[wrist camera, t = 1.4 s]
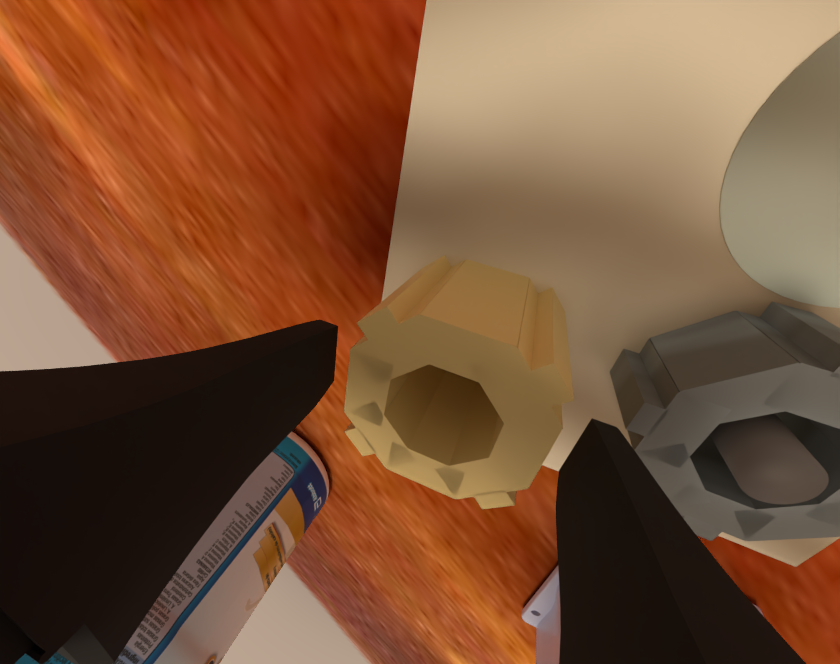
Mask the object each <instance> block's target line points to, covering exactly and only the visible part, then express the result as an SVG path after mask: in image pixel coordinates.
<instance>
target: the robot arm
mask: <svg viewBox="0 0 840 664" xmlns="http://www.w3.org/2000/svg"><path fill="white" fill-rule="evenodd" d="M337 334H338V326H336V325H333V324H331V323H328V322H325V321H322V320H315V321H311V322H306V323H302V324H299V325H295V326H291V327H287V328H284V329H280V330H277V331H273V332H269V333H266V334H262V335H258V336H255V337H251V338H247V339H243V340H239V341H235V342H230V343H226V344H222V345H218V346H214V347H209V348H205V349H201V350H196V351H191V352H185V353H180V354H174V355H168V356H162V357H156V358H150V359H143V360H135V361H126V362H118V363H109V364H101V365H91V366H83V367H82V366H81V367H70V368H56V369H42V370H23V371H1V372H0V664H15V663H16V662H17V661H18V660H19V659H20V658H21V657H22V656H23V655H24V654H27V655H28V656H29V657H31V658H32V659H34V660H35V661H36V662H38V663H39V664H43V663H45V662H47V661H48V660H49V659H50V658H51V657H52V656H53V655H54V654H55V653H56V652H58V653H59V654H61V655H62V656H63V657H65V658H66V659H68V660H69V661H71V662H72V663H74V664H113V663H115V661H116V660H117V658H118V657H119V655H120V654H121V652H122V651H123V649H124V647H125V646H126V644H127V643H128V641H129V640H130V638H131V637H132V635H133V634H134V633H135V631H136V630H137V628H138V627H139V625H140V624H141V622H142V621H143V619H144V618H145V616H146V615H147V613H148V612H149V610H150V609H151V607H152V606H153V604H154V603H155V601H156V600H157V599H158V597H159V596H160V594H161V593H162V591H163V590H164V588H165V587H166V586H167V584H168V583H169V581H170V580H171V579H172V577H173V576H174V574H175V573H176V572H177V570H178V569H179V567H180V566H181V565H182V563H183V562H184V561H185V559H186V558H187V556H188V555H189V554H190V552H191V551H192V549H193V548H194V547H195V545H196V544H197V543H198V541H199V540H200V539H201V537H202V536H203V535H204V533H205V532H206V531H207V529H208V528H209V527H210V525H211V524H212V523H213V521H214V520H215V519H216V518H217V516H218V515H219V514H220V512H221V511H222V510H223V508H224V507H225V506H226V505H227V503H228V502H229V501H230V500H231V498H232V497H233V496H234V495H235V493H236V492H237V491H238V490H239V488H240V487H241V486H242V484H243V483H244V482H245V481H246V479H247V478H248V477H249V476H250V475H251V474H252V473H253V472H254V470H255V469H256V468H257V467H258V466H259V465H260V464H261V463H262V462H263V461H264V460H265V459H266V457H267V456H268V455H269V454H270V453H271V452H272V451H273V450H274V449H275V448H276V447H277V446H278V445H279V444H280V443H281V442H282V441H283V440H284V439H285V438H286V437H287V436H288V435H289V434H290V433H291V432H292V431H293V429H294V428H295V427H296V426H297V425H298V424H299V423H300V422H301V421H302V420H303V419H304V418H305V417H306V416H307V415H308V414H309V413H310V412H311V410H312V409H313V408H314V407H315V406H316V405H317V403H318V402H319V401H320V399H321V398H322V397H323V395H324V394H325V393H326V391H327V390H328V388H329V387H330V385H331V384H332V383H333V381H334V372H335V360H336V347H337ZM556 527H557V549H558V566H557V567H556V568H555V570H554V571H553V572H552V573H551V575H550V576H549V577H548V578H547V580H546V581H545V582H544V583H543V585H542V586H541V587H540V588H539V590H538V591H537V592H536V593H535V595H534V596H533V597H532V598H531V600H530V601H529V602H528V603H527V605H526V606H525V607H524V608H523V610H522V619H523V620H524V621H525V622H526V623H528V624H530V625H532V626H534V627H536V628H537V633H536V664H806V663H805V662H804V661H803V660H802V659H801V658H800V657H799V655H798V654H797V653H796V652H795V651H794V650H793V649H792V648H791V647H790V646H789V645H788V643H787V642H786V641H785V640H784V639H783V638H782V637H781V636H780V635H779V633H778V632H777V631H776V630H775V629H774V628H773V627H772V625H771V624H770V623H769V622H768V621H767V620H766V619H765V617H764V615H763V613H762V611H761V609H760V608H759V607H758V606H756V605H754V604H752V603H751V601H750V600H749V599H748V598H747V597H746V596H745V595H744V593H743V592H742V591H741V590H740V589H739V588H738V586H737V585H736V584H735V583H734V582H733V580H732V579H731V578H730V577H729V576H728V574H727V573H726V572H725V571H724V570H723V568H722V567H721V566H720V565H719V563H718V562H717V561H716V560H715V558H714V557H713V556H712V555H711V553H710V552H709V551H708V549H707V548H706V547H705V546H704V544H703V543H702V542H701V541H700V539H699V538H698V537H697V536H696V534H695V533H694V532H693V530H692V529H691V528H690V526H689V525H688V524H687V523H686V521H685V520H684V519H683V517H682V516H681V515H680V513H679V512H678V511H677V509H676V508H675V506H674V505H673V504H672V502H671V501H670V500H669V498H668V497H667V496H666V494H665V493H664V491H663V490H662V489H661V487H660V486H659V484H658V483H657V482H656V480H655V479H654V477H653V476H652V475H651V473H650V472H649V470H648V469H647V467H646V466H645V465H644V463H643V462H642V460H641V459H640V457H639V456H638V455H637V453H636V452H635V450H634V449H633V448H632V446H631V445H630V443H629V442H628V441H627V439H626V438H625V437H624V435H623V434H622V433H621V431H620V430H619V429H618V428H617V427H615V426H612V425H610V424H607V423H604V422H601V421H598V420H596V419H593V418H592V419H591V420H590V422H589V423H588V425H587V427H586V428H585V430H584V431H583V433H582V435H581V436H580V438H579V439H578V441H577V443H576V444H575V446H574V447H573V449H572V451H571V452H570V454H569V455H568V457H567V459H566V460H565V462H564V463H563V465H562V467H561V468H560V470H559V477H558V487H557V499H556Z"/></svg>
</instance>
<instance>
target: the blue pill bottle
mask: <svg viewBox="0 0 840 664" xmlns="http://www.w3.org/2000/svg"><path fill="white" fill-rule="evenodd" d="M328 494H329V479H328V475H327V472H326V470H325V467H324V465H323V463H322V462H321V460H320V458H319V457H318V455H317V454H316V453H315V452H314V450H313V449H312V448H311V447H310V446H309V445H308V444H307V443H306V442H305V441H304V440H303V439H302V438H300V437H299V436H298V435H296V434H295V433H294V432H291V433H290V434H289V435H288V436H287V437H286V438H285V439H284V440H283V441H282V442H281V443H280V444H279V445H278V446H277V447H276V448H275V449H274V450H273V451H272V452H271V453H270V454H269V455H268V456H267V457H266V459H265V460H264V461H263V462H262V463H261V464H260V465H259V466H258V467H257V468H256V469H255V470H254V472H253V473H252V474H251V475H250V476H249V477H248V478H247V479H246V481H245V482H244V483H243V484H242V486H241V487H240V488H239V490H238V491H237V492H236V493H235V495H234V496H233V497H232V498H231V500H230V501H229V502H228V503H227V505H226V506H225V507H224V508H223V510H222V511H221V512H220V514H219V515H218V516H217V518H216V519H215V520H214V521H213V523H212V524H211V525H210V527H209V528H208V529H207V531H206V532H205V533H204V535H203V536H202V537H201V539H200V540H199V541H198V543H197V544H196V545H195V547H194V548H193V549H192V551H191V552H190V554H189V555H188V556H187V558H186V559H185V561H184V562H183V563H182V565H181V566H180V567H179V569H178V570H177V572H176V573H175V574H174V576H173V577H172V579H171V580H170V581H169V583H168V584H167V586H166V587H165V588H164V590H163V591H162V593H161V594H160V596H159V597H158V599H157V600H156V601H155V603H154V604H153V606H152V607H151V609H150V610H149V612H148V613H147V615H146V616H145V618H144V619H143V621H142V622H141V624H140V625H139V627H138V628H137V630H136V631H135V633H134V634H133V635H132V637H131V638H130V640H129V641H128V643H127V644H126V646H125V647H124V649H123V651H122V652H121V654H120V655H119V657H118V658H117V660H116V661H115V663H113V664H219V663H220V662H221V660H222V659H223V657H224V656H225V654H226V653H227V651H228V649H229V648H230V646H231V645H232V643H233V642H234V640H235V639H236V637H237V636H238V634H239V633H240V631H241V629H242V628H243V626H244V625H245V623H246V621H247V620H248V619H249V617H250V616H251V614H252V612H253V611H254V609H255V608H256V606H257V605H258V603H259V601H260V600H261V599H262V597H263V596H264V594H265V592H266V591H267V589H268V588H269V586H270V585H271V583H272V582H273V580H274V579H275V577H276V576H277V574H278V573H279V571H280V569H281V568H282V566H283V565H284V563H285V562H286V560H287V559H288V557H289V556H290V554H291V553H292V551H293V550H294V548H295V547H296V545H297V543H298V542H299V540H300V539H301V537H302V536H303V534H304V533H305V531H306V530H307V528H308V527H309V525H310V524H311V522H312V520H313V519H314V518H315V517H316V516H317V514H318V513H319V511H320V510H321V508H322V507H323V505H324V504H325V502H326V500H327V497H328ZM15 664H39V663H38V662H36V661H35V660H34V659H32V658H31V657H29V656H28V655H27V654H24V655H23V656H22V657H21V658H20V659H19V660H18V661H17V662H16V663H15ZM43 664H74V663H72V662H71V661H69V660H68V659H66V658H65V657H63V656H62V655H61V654H59V653H58V652H56V653H55V654H54V655H53V656H52V657H51V658H50V659H49V660H48V661H47V662H45V663H43Z"/></svg>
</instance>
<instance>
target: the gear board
mask: <svg viewBox="0 0 840 664" xmlns="http://www.w3.org/2000/svg"><path fill="white" fill-rule="evenodd" d="M444 255H445V257H446V258H447V260H448V262H449V264H450V265H451V267H453V266H455V265H456V264H458V263H460V262H462V261H464V260H467V259H468V260H471V261H475V262H478V263H482V264H485V265H488V266H492V267H495V268H498V269H502V270H505V271H509V272H512V273H515V274H519V275H522V276H525V277H529V279H531V281H532V283H533V285H534V287H535V289H536V291H537V293H540V292H542V291H545V290H547V289H549V288H552V287H553V289H554V291H555V293H556V295H557V297H558V299H559V301H560V303H561V305H562V307H563V309H564V311H565V315H566V325H567V335H568V345H569V355H570V365H571V375H572V385H573V395H574V401H572V402H568V403H564V404H562V422H563V429H562V431H561V433H560V434H559V436H558V438H557V440H556V441H555V443H554V445H553V447H552V448H551V450H550V452H549V454H548V455H547V457H546V459H545V460H544V462H543V464H542V465H543V466H546V467H548V468H551V469H553V470H556V471H558V472H559V470H560V468H561V467H562V465H563V463H564V462H565V460H566V459H567V457H568V455H569V454H570V452H571V451H572V449H573V447H574V446H575V444H576V443H577V441H578V439H579V438H580V436H581V435H582V433H583V431H584V430H585V428H586V427H587V425H588V423H589V422H590V420H591V419H592V418H593V419H596V420H598V421H601V422H604V423H607V424H610V425H612V426H615V427H617V428H618V429H619V430H620V431H621V433H622V434H623V435H624V437H625V438H626V439H627V441H628V442H629V443H630V445H631V446H632V448H633V449H634V450H635V452H636V453H637V455H638V456H639V457H640V459H641V460H642V462H643V463H644V465H645V466H646V467H647V469H648V470H649V472H650V473H651V475H652V476H653V477H654V479H655V480H656V482H657V483H658V484H659V486H660V487H661V489H662V490H663V491H664V493H665V494H666V496H667V497H668V498H669V500H670V501H671V502H672V504H673V505H674V506H675V508H676V509H677V511H678V512H679V513H680V515H681V516H682V517H683V519H684V520H685V521H686V523H687V524H688V525H689V526H690V528H691V529H692V530H693V532H694V533H695V534H696V535H697V536H700V537H702V538H705V539H707V540H710V541H712V540H713V539H714V538H716V537H717V536H720V537H723V538H725V539H728V540H730V541H733V542H735V543H737V544H740V545H742V546H745V547H747V548H750V549H752V550H755V551H757V552H760V553H762V554H765V555H767V556H770V557H772V558H775V559H777V560H780V561H782V562H785V563H787V564H790V565H792V566H795V567H796V566H798V565H799V564H801V563H803V562H804V561H806V560H807V559H809V558H810V557H812V556H813V555H815V554H816V553H818V552H819V551H821V550H822V549H824V548H825V547H827V546H828V545H830V544H831V543H833V542H834V541H836V540H838V539H839V538H840V0H427V1H426V7H425V14H424V21H423V28H422V34H421V41H420V48H419V54H418V61H417V68H416V74H415V81H414V88H413V94H412V101H411V108H410V115H409V121H408V128H407V135H406V141H405V148H404V155H403V161H402V168H401V175H400V181H399V188H398V195H397V202H396V208H395V215H394V222H393V228H392V235H391V242H390V248H389V255H388V262H387V268H386V275H385V282H384V289H383V295H382V301H383V300H385V299H386V298H387V297H388V296H389V295H390V294H392V293H393V292H394V291H395V290H396V289H398V288H399V287H400V286H401V285H402V284H404V283H405V282H406V281H407V280H408V279H410V278H411V277H412V276H413V275H414V274H416V273H417V272H418V271H419V270H420V269H422V268H423V267H425V266H426V265H428V264H430V263H432V262H433V261H435V260H437V259H439V258H440V257H442V256H444Z"/></svg>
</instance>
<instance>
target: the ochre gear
mask: <svg viewBox="0 0 840 664" xmlns="http://www.w3.org/2000/svg"><path fill="white" fill-rule="evenodd" d="M357 324H358V326H359V327H360V329H361V330H362V332H363V333H364V336H363V337H362V338H361V339H360V340H359V341H358V342H357V343H356V344H355V345H354V346H353V347H352V348H351V350H350V359H349V369H348V378H347V387H346V397H345V406H344V411H345V414H346V415H347V416H348V418H349V419H350V420H351V424H350V425H349V426H348V428H347V429H346V430H345V433H346V434H347V436H348V437H349V438H350V440H351V441H352V442H353V444H354V445H355V446H356V448H357V449H358V450H359V452H360V453H361V455H362V456H366V455H370V454H374V453H375V454H376V456H377V457H378V459H379V460H380V461H381V463H382V464H383V465H384V467H385V468H386V469H388V470H390V471H393V472H395V473H397V474H399V475H402V476H404V477H406V478H408V479H411V480H413V481H415V482H417V483H420V484H422V485H424V486H426V487H429V488H431V489H433V490H435V491H438V492H440V493H442V494H444V495H447V496H449V497H451V498H453V499H462V498H469V497H474V498H475V499H476V501H477V502H478V504H479V505H480V507H481V508H482V509H489V508H497V507H505V506H513V505H515V499H516V490H523V489H528V488H529V487H530V485H531V483H532V481H533V480H534V478H535V476H536V474H537V473H538V471H539V469H540V467H541V466H542V464H543V462H544V460H545V459H546V457H547V455H548V454H549V452H550V450H551V448H552V447H553V445H554V443H555V441H556V440H557V438H558V436H559V434H560V433H561V431H562V429H563V422H562V404H564V403H568V402H572V401H574V395H573V385H572V375H571V365H570V355H569V345H568V335H567V325H566V315H565V311H564V309H563V307H562V305H561V303H560V301H559V299H558V297H557V295H556V293H555V291H554V289H553V287H552V288H549V289H547V290H545V291H542V292H540V293H537V291H536V289H535V287H534V285H533V283H532V281H531V279H529V277H525V276H522V275H519V274H515V273H512V272H509V271H505V270H502V269H498V268H495V267H492V266H488V265H485V264H482V263H478V262H475V261H471V260H468V259H467V260H464V261H462V262H460V263H458V264H456V265H455V266H453V267H451V265H450V264H449V262H448V260H447V258H446V257H445V255H444V256H442V257H440V258H439V259H437V260H435V261H433V262H432V263H430V264H428V265H426V266H425V267H423V268H422V269H420V270H419V271H418V272H417V273H416V274H414V275H413V276H412V277H411V278H410V279H408V280H407V281H406V282H405V283H404V284H402V285H401V286H400V287H399V288H398V289H396V290H395V291H394V292H393V293H392V294H390V295H389V296H388V297H387V298H386V299H385V300H383V301H382V302H381V303H380V304H379V305H377V306H376V307H375V308H374V309H373V310H371V311H370V312H369V313H368V314H367V315H365V316H364V317H363V318H362V319H361V320H359V321H358V322H357Z"/></svg>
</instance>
